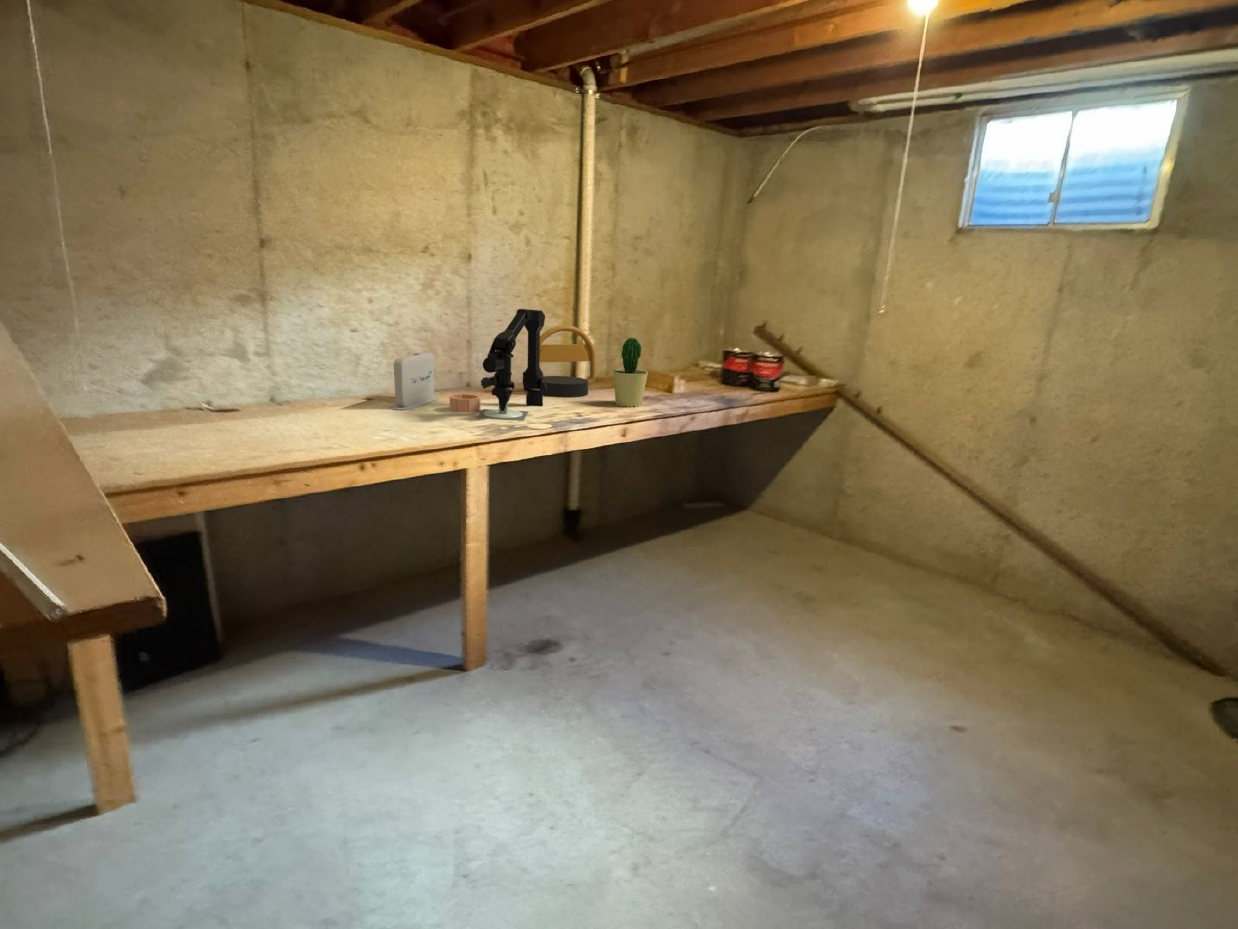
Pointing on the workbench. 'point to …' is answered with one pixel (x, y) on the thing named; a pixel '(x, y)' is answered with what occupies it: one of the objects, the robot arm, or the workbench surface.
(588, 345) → the chair
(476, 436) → the workbench surface
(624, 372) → the potted cactus
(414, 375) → the wireless router
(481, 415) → the mat
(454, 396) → the bowl
